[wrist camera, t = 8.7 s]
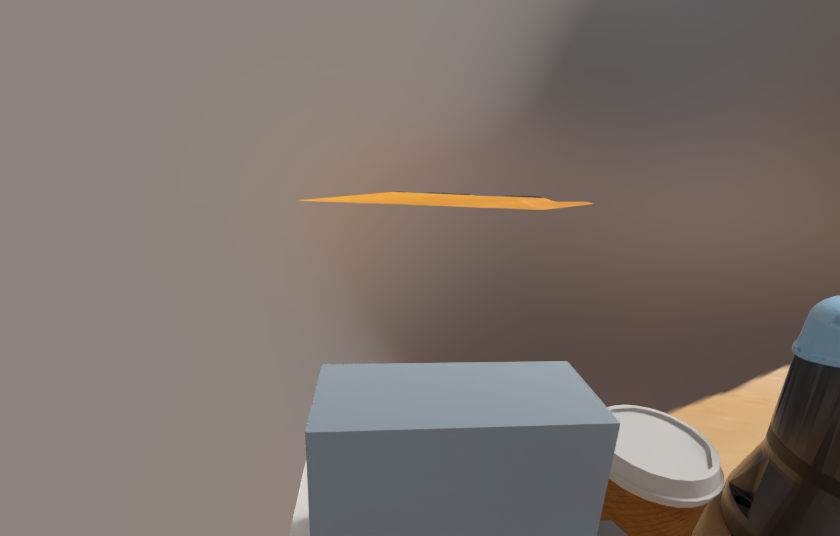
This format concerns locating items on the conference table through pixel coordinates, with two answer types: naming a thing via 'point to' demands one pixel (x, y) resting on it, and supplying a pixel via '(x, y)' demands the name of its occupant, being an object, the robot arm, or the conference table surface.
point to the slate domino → (457, 450)
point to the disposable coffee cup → (659, 474)
